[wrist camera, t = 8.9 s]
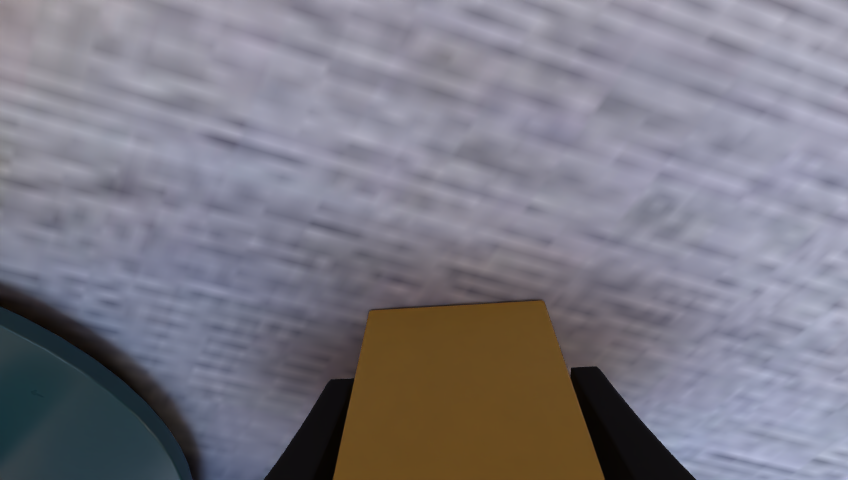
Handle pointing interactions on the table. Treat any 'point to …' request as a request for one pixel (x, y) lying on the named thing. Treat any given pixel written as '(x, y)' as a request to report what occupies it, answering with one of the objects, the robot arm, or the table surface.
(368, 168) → the table surface
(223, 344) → the table surface
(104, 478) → the lid
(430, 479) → the ochre block
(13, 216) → the table surface
